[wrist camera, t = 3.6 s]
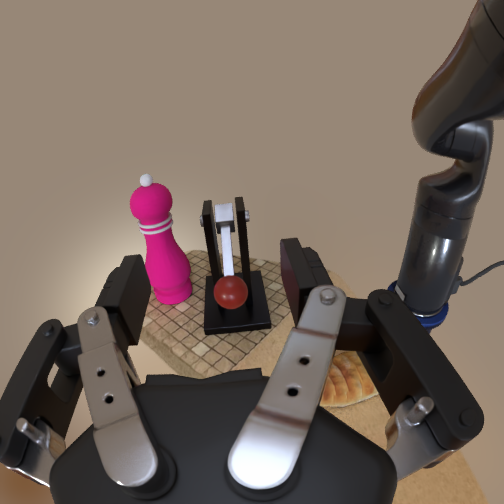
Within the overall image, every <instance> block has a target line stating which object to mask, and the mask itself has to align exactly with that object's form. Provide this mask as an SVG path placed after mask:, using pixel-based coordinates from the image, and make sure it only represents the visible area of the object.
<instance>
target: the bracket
mask: <svg viewBox="0 0 504 504" xmlns="http://www.w3.org/2000/svg"><path fill="white" fill-rule="evenodd" d="M235 204H236V214H237V224H238V235H239V244H240V254H241V264H242V272H241V273H234V275H235V276H238V277H240V278H241V279H242V280H243V281H244V282H245V283H246V285H247V289H248V296H247V299H246V301H245V302H244V304H243V305H241V306H240V307H238V308H236V309H226V308H224V307H222V306H220V305H219V304H218V303H217V301H216V300H215V297H214V287H215V284H216V283H217V281H218V280H219V279H220V278H222V277H224V274H222V270H221V263H220V257H219V250H218V244H217V236H216V229H215V222H214V215H213V208H212V201H211V200H208V201H204V204H203V210H202V215H201V216H200V223H201V226H202V227H204V232H205V237H206V244H207V250H208V256H209V262H210V267H211V273H212V276H206V289H205V310H204V332H205V335H213V334H224V333H234V332H244V331H253V330H261V329H270V328H271V320H270V315H269V310H268V305H267V300H266V295H265V291H264V286H263V281H262V276H261V271H260V270H259V271H250V262H249V251H248V239H247V227H246V222H248V221H249V211H245V207H244V202H243V197H236V198H235Z"/></svg>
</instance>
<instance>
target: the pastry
mask: <svg viewBox="0 0 504 504" xmlns="http://www.w3.org/2000/svg"><path fill="white" fill-rule="evenodd" d="M377 394H379V393H378V391H377V390H376V388H375V386H374V384H373V382H372V380H371V378H370V377H369V375H368V373H367V371H366V369H365V367H364V366H363V364H362V362H361V360H360V358H359V357H358V355H357V353H356V351H349V352H344V353H341V354H339V355H337V356H335V357H334V358H333V362H332V366H331V369H330V373H329V376H328V380H327V383H326V386H325V390H324V393H323V397H322V400H321V403H320V406H323V407H325V406H331V407H335V406H337V407H345V406H347V405H351V404H354V403H357V402H360V401H363V400H366V399H369V398H371V397H373V396H374V395H377Z"/></svg>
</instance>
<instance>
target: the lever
mask: <svg viewBox="0 0 504 504" xmlns="http://www.w3.org/2000/svg"><path fill="white" fill-rule="evenodd" d="M215 223H216V228H217V233H218V234H221V239H222V255H223V269H224V277H222V278H220V279H219V280H218V281H217V283H216V284H215V287H214V297H215V300H216V301H217V303H218V304H219V305H220V306H222V307H224V308H226V309H236V308H238V307H240V306H241V305H243V304H244V302H245V301H246V299H247V296H248V289H247V285H246V283H245V282H244V281H243V280H242V279H241V278H240V277H238V276H235V275H234V265H233V254H232V244H231V232H235V227H234V216H233V207H232V203H228V204H219V205H215Z"/></svg>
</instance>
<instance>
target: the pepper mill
mask: <svg viewBox="0 0 504 504" xmlns="http://www.w3.org/2000/svg"><path fill="white" fill-rule="evenodd" d="M152 182H153V178H152V177H151V176H150V175H149V174H144V175H143V176H141V178H140V183H141V185H142V186H141V187H139V188H138V189H137V190H135V191H134V193H133V194H132V196H131V199H130V209H131V212H132V214H133V215H134V217H136V218H137V219H139V221H138V225H139V227H140V232H141V233H143V234H144V236H145V239H146V245H147V254H146V262H145V267H146V271H147V274H148V277H149V280H150V284H151V286H153V287H154V292H155V295H156V298H157V300H158V301H159V302H161V303H163V304H177V303H180V302H182V301H184V300H186V299H187V298H188V297H189V296H190V294H191V293H192V284H191V280H190V278H189V275H190V272H191V267H190V263H189V261H188V259H187V257H186V255H185V253H184V252H183V251H182V250H181V248H180V247H179V246H178V245H177V243H176V241H175V239H174V237H173V234H172V229H171V226H172V224H173V220H172V215H171V213H170V212H169V211H170V209H171V207H172V196H171V193H170V192H169V190H168V189H167V188H166V187H165V186H163V185H161V184H158V183H152Z"/></svg>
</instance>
